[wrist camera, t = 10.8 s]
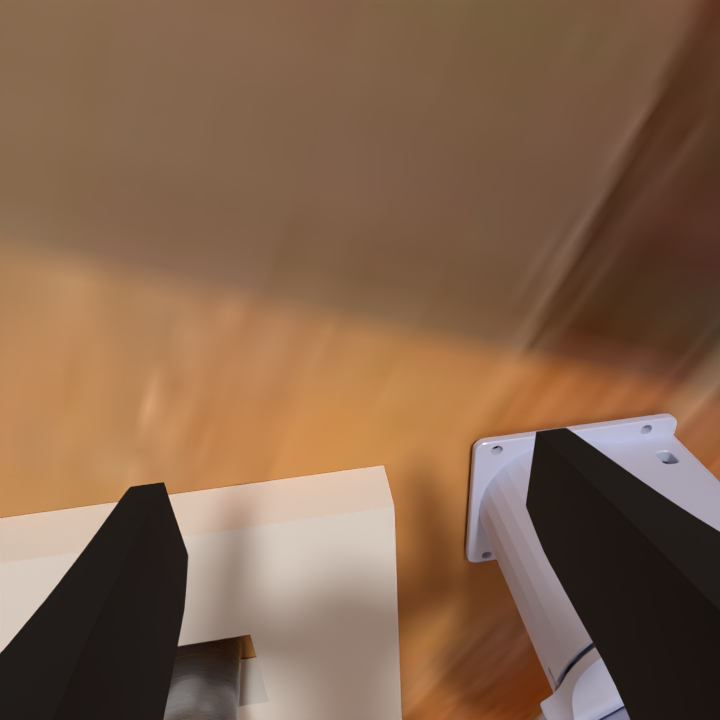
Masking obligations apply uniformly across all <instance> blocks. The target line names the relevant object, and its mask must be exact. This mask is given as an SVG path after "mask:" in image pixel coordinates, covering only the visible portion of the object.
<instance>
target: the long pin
mask: <svg viewBox="0 0 720 720" xmlns="http://www.w3.org/2000/svg"><path fill="white" fill-rule="evenodd" d="M241 652H242V636H238V637H232V638H225V639H219V640H213V641H207V642H201V643H195V644H188V645H182V646H178V647H177V653H176V658H175V663H174V668H173V673H172V678H171V683H170V688H169V694H168V699H167V704H166V709H165V714H164V719H163V720H238V715H239V694H240V673H241Z"/></svg>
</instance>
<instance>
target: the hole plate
mask: <svg viewBox="0 0 720 720" xmlns="http://www.w3.org/2000/svg"><path fill="white" fill-rule="evenodd" d="M168 496H169V499H170V502H171V505H172V508H173V511H174V514H175V517H176V520H177V523H178V526H179V529H180V532H181V535H182V538H183V541H184V544H185V547H186V550H187V553H188V571H187V587H186V599H185V610H184V615H183V621H182V626H181V632H180V637H179V642H178V646H182V645H188V644H195V643H201V642H207V641H213V640H219V639H225V638H232V637H238V636H244V635H250V636H251V639H252V643H253V646H254V650H255V654H256V657H255V658H249V659H243V660H241V673H240V694H239V715H238V720H402V716H401V687H400V658H399V630H398V601H397V572H396V543H395V515H394V504H393V500H392V496H391V492H390V488H389V484H388V480H387V476H386V472H385V468H384V465H381V466H374V467H367V468H359V469H352V470H345V471H338V472H331V473H323V474H316V475H309V476H302V477H294V478H287V479H280V480H273V481H266V482H258V483H251V484H244V485H237V486H229V487H222V488H215V489H208V490H201V491H193V492H186V493H179V494H172V495H168ZM117 504H118V502H114V503H107V504H99V505H92V506H85V507H78V508H71V509H63V510H56V511H49V512H42V513H35V514H27V515H20V516H13V517H6V518H0V653H1V652H2V651H3V650H4V648H5V647H6V646H7V645H8V644H9V643H10V641H11V640H12V639H13V638H14V637H15V635H16V634H17V633H18V632H19V631H20V629H21V628H22V627H23V626H24V625H25V623H26V622H27V621H28V620H29V619H30V617H31V616H32V615H33V614H34V613H35V611H36V610H37V609H38V608H39V607H40V605H41V604H42V603H43V602H44V601H45V599H46V598H47V597H48V596H49V594H50V593H51V592H52V591H53V589H54V588H55V587H56V585H57V584H58V583H59V582H60V580H61V579H62V578H63V576H64V575H65V574H66V572H67V571H68V570H69V569H70V567H71V566H72V565H73V563H74V562H75V561H76V559H77V558H78V557H79V555H80V554H81V553H82V552H83V550H84V549H85V547H86V546H87V545H88V543H89V542H90V541H91V539H92V538H93V537H94V535H95V534H96V533H97V531H98V530H99V528H100V527H101V526H102V524H103V523H104V522H105V520H106V519H107V517H108V516H109V515H110V513H111V512H112V510H113V509H114V508H115V506H116V505H117Z"/></svg>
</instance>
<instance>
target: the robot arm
mask: <svg viewBox="0 0 720 720" xmlns="http://www.w3.org/2000/svg"><path fill="white" fill-rule="evenodd" d="M676 425H677V421H676V419H675V418H674V417H673V416H672V415H670V414H666V413H665V414H657V415H650V416H643V417H635V418H628V419H621V420H613V421H606V422H599V423H591V424H584V425H577V426H569V427H562V428H555V429H547V430H540V431H533V432H525V433H518V434H511V435H503V436H496V437H489V438H483V439H480V440H478V441H477V442H476V443H475V444H474V445H473V449H472V464H471V479H470V495H469V510H468V525H467V540H466V556H467V558H468V560H469V561H470V562H473V563H477V562H483V561H490V560H496V559H497V561H498V564H499V566H500V569H501V571H502V573H503V576H504V578H505V580H506V583H507V585H508V587H509V590H510V592H511V594H512V597H513V599H514V602H515V604H516V606H517V609H518V611H519V613H520V616H521V618H522V620H523V623H524V625H525V628H526V630H527V632H528V635H529V637H530V639H531V642H532V644H533V646H534V649H535V651H536V653H537V656H538V658H539V661H540V663H541V665H542V668H543V670H544V672H545V675H546V677H547V679H548V682H549V684H550V687H551V689H552V691H553V694H552V695H551V696H550V697H548V698H547V699H545V700H544V701H542V702H541V703H540V706H541V709H542V711H543V714H544V717H545V719H546V720H720V482H719V481H718V480H717V479H716V478H715V477H714V476H713V475H712V474H711V473H710V472H709V471H708V470H707V469H706V468H705V467H704V466H703V465H702V464H701V463H700V462H699V461H698V460H697V459H696V458H695V457H694V456H693V455H692V454H691V453H690V452H689V450H688V449H687V448H686V447H685V446H684V445H683V444H682V443H681V442H680V441H679V440H678V439H677V438H676V437H675V436H673V435H674V432H675V429H676ZM644 426H645V427H644ZM495 446H498V447H497V448H495V449H492V448H494V447H495ZM187 571H188V553H187V550H186V547H185V544H184V541H183V538H182V535H181V532H180V529H179V526H178V523H177V520H176V517H175V514H174V511H173V508H172V505H171V502H170V499H169V496H168V493H167V490H166V487H165V484H164V482H163V483H155V484H148V485H141V486H133V487H130V488H129V489H128V490H127V491H126V493H125V494H124V495H123V497H122V498H121V499H120V501H119V502H118V504H117V505H116V506H115V508H114V509H113V510H112V512H111V513H110V515H109V516H108V517H107V519H106V520H105V522H104V523H103V524H102V526H101V527H100V528H99V530H98V531H97V533H96V534H95V535H94V537H93V538H92V539H91V541H90V542H89V543H88V545H87V546H86V547H85V549H84V550H83V552H82V553H81V554H80V555H79V557H78V558H77V559H76V561H75V562H74V563H73V565H72V566H71V567H70V569H69V570H68V571H67V572H66V574H65V575H64V576H63V578H62V579H61V580H60V582H59V583H58V584H57V585H56V587H55V588H54V589H53V591H52V592H51V593H50V594H49V596H48V597H47V598H46V599H45V601H44V602H43V603H42V604H41V605H40V607H39V608H38V609H37V610H36V611H35V613H34V614H33V615H32V616H31V617H30V619H29V620H28V621H27V622H26V623H25V625H24V626H23V627H22V628H21V629H20V631H19V632H18V633H17V634H16V635H15V637H14V638H13V639H12V640H11V641H10V643H9V644H8V645H7V646H6V647H5V648H4V650H3V651H2V652H1V653H0V720H163V719H164V714H165V709H166V704H167V699H168V694H169V688H170V683H171V678H172V673H173V668H174V663H175V658H176V653H177V647H178V642H179V637H180V632H181V626H182V621H183V615H184V610H185V599H186V587H187Z"/></svg>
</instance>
